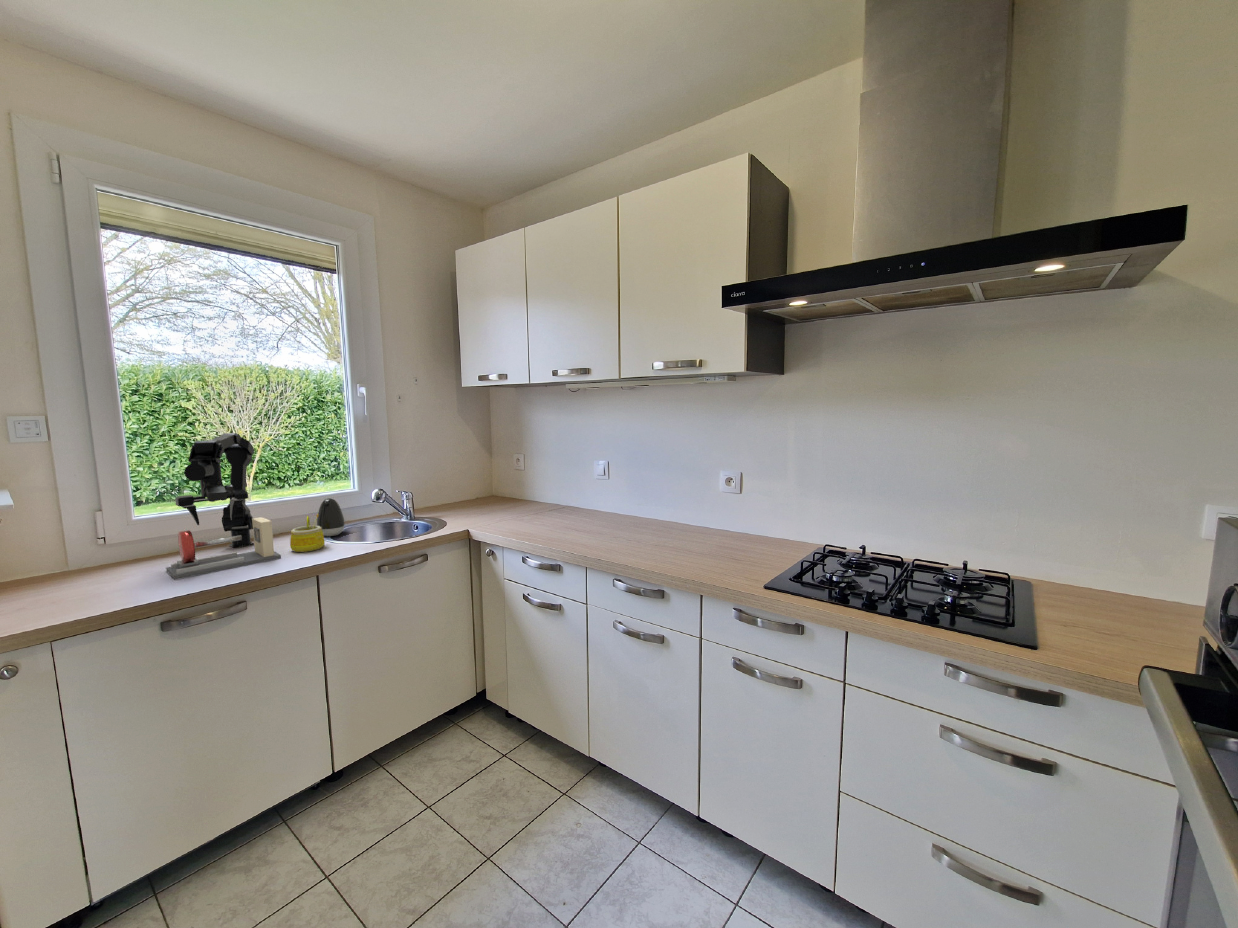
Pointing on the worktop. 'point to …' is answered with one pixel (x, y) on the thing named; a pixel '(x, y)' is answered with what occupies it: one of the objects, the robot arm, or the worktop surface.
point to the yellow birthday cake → (307, 537)
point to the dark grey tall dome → (330, 518)
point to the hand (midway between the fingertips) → (215, 522)
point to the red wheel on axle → (189, 547)
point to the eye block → (234, 554)
